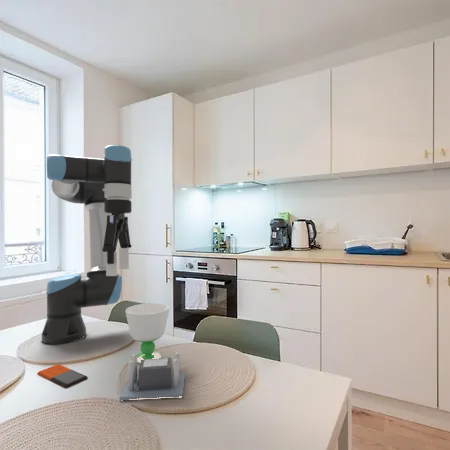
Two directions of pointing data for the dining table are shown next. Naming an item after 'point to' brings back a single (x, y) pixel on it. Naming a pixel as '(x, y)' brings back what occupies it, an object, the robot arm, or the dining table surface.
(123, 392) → the grey fixture stand
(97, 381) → the dining table surface
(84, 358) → the dining table surface
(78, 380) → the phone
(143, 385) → the grey block
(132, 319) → the cup
